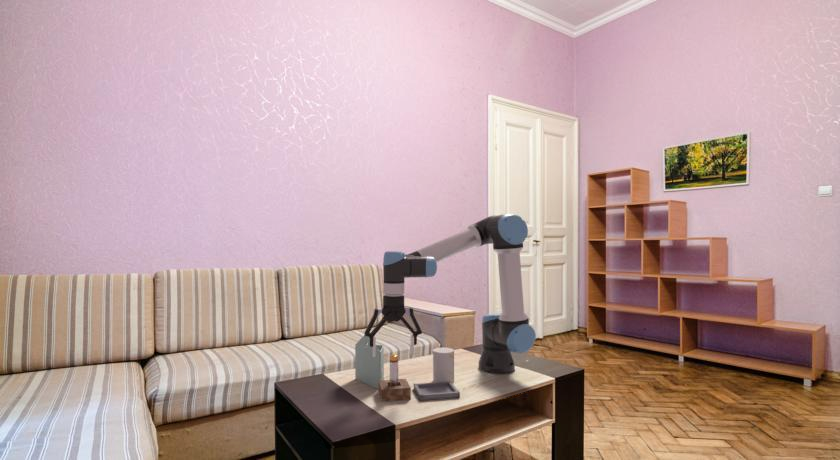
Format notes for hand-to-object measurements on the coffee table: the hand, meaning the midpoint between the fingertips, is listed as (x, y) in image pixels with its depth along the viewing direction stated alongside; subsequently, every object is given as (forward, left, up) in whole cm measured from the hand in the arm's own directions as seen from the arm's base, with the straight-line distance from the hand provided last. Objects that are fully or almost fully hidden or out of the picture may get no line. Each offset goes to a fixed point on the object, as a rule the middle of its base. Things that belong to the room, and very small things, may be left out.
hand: (393, 355), depth 156 cm
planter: (+5, -16, -15) cm, 22 cm away
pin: (0, 0, -14) cm, 14 cm away
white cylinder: (-21, -11, -15) cm, 28 cm away
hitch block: (0, 0, -14) cm, 14 cm away
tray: (-15, +1, -14) cm, 21 cm away
